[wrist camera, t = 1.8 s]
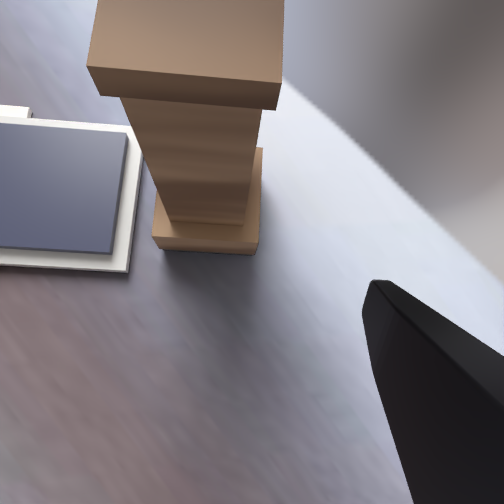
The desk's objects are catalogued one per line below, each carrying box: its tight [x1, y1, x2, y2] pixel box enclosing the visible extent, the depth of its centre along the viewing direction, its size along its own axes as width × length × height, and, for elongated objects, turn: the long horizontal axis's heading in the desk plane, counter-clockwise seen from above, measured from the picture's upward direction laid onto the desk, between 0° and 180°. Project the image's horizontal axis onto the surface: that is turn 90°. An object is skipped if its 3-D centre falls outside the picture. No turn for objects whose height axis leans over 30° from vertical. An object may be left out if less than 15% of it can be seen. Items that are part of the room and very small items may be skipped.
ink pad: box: [0, 116, 143, 273], centre depth 21 cm, size 9×9×1 cm
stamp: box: [86, 0, 284, 255], centre depth 16 cm, size 5×5×14 cm
